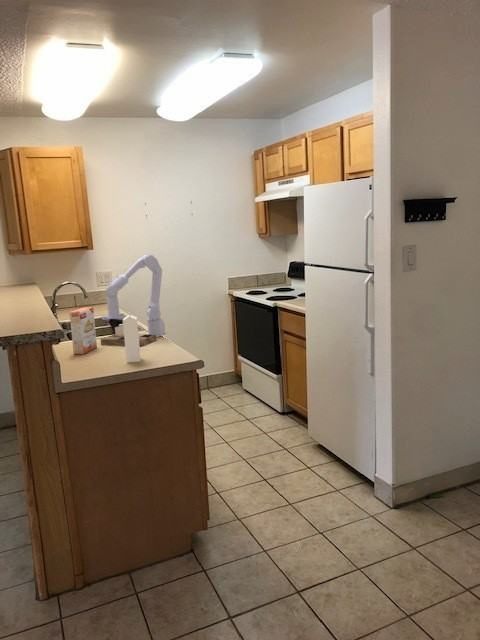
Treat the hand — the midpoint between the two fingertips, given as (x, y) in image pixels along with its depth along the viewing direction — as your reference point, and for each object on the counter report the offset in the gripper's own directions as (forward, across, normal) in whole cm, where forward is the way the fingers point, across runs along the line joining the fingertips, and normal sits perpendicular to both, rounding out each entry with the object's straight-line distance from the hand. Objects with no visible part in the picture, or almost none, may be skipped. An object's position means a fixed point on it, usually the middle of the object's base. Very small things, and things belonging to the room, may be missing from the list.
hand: (115, 333), depth 283 cm
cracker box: (+4, 0, -24) cm, 24 cm away
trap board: (+4, +10, -4) cm, 12 cm away
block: (+1, +4, 0) cm, 4 cm away
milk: (+4, +36, -35) cm, 50 cm away
